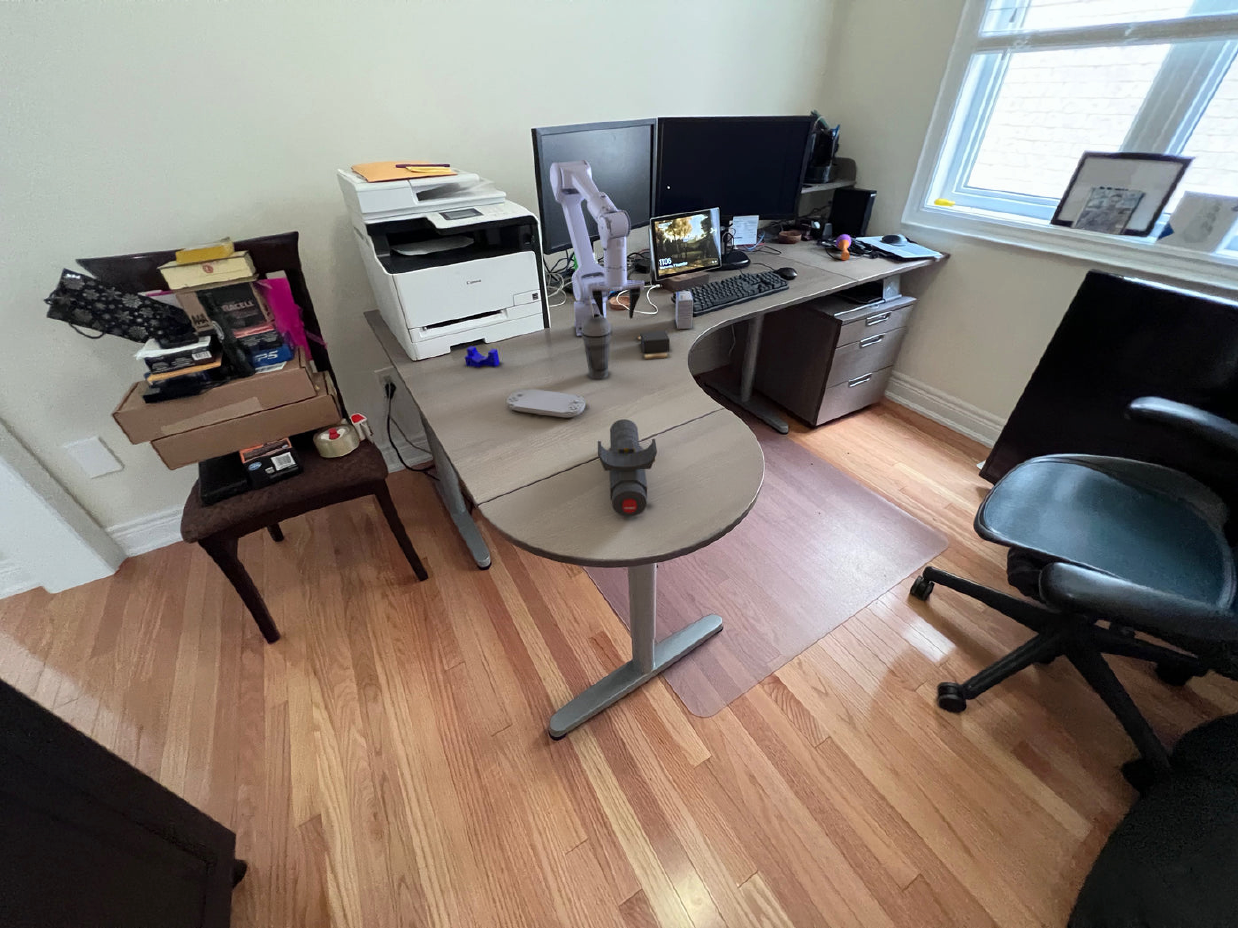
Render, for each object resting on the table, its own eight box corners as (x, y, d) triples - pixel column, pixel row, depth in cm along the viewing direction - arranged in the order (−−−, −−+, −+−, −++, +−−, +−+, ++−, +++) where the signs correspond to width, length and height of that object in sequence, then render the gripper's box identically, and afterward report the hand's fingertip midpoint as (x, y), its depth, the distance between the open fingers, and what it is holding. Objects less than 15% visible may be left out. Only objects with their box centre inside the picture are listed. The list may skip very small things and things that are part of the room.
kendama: (837, 250, 194) (835, 233, 209) (836, 265, 198) (835, 248, 212) (854, 247, 192) (851, 231, 206) (853, 263, 196) (850, 246, 210)
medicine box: (691, 329, 146) (693, 300, 140) (676, 329, 146) (678, 300, 141) (689, 319, 152) (691, 291, 147) (674, 319, 152) (676, 291, 147)
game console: (589, 394, 112) (576, 412, 105) (589, 403, 113) (577, 422, 107) (517, 385, 116) (501, 402, 110) (518, 394, 117) (502, 411, 111)
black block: (643, 352, 134) (643, 340, 132) (640, 343, 138) (640, 332, 136) (669, 351, 134) (669, 339, 132) (665, 342, 139) (665, 330, 137)
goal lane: (645, 359, 131) (645, 356, 130) (638, 338, 141) (638, 336, 141) (667, 357, 131) (667, 355, 131) (658, 337, 142) (658, 335, 141)
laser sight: (648, 442, 100) (648, 400, 94) (659, 520, 82) (660, 473, 76) (600, 444, 100) (597, 402, 94) (600, 522, 82) (597, 476, 76)
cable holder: (466, 365, 130) (463, 351, 128) (473, 359, 133) (470, 346, 131) (493, 369, 128) (490, 355, 126) (499, 363, 131) (497, 349, 128)
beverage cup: (609, 383, 121) (606, 302, 108) (581, 380, 122) (574, 300, 110) (615, 369, 126) (613, 291, 114) (588, 367, 127) (582, 290, 115)
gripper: (587, 271, 120) (590, 325, 128) (646, 268, 121) (645, 322, 129) (585, 263, 125) (589, 315, 134) (642, 260, 126) (641, 312, 134)
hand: (616, 318), depth 132 cm, fingers open, 7 cm apart
